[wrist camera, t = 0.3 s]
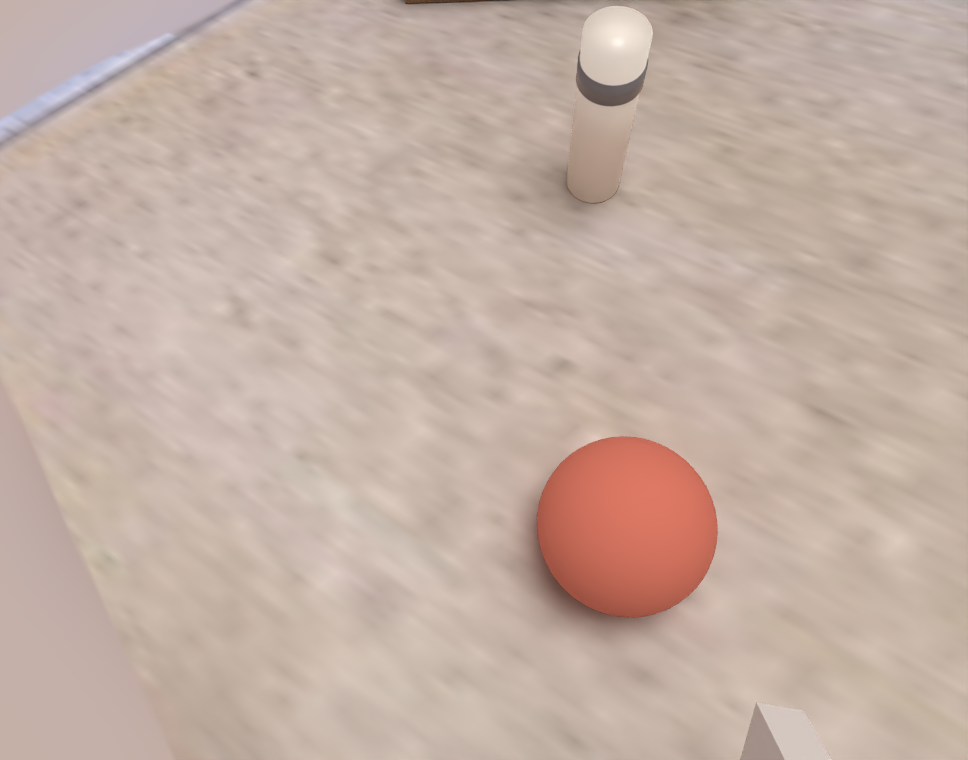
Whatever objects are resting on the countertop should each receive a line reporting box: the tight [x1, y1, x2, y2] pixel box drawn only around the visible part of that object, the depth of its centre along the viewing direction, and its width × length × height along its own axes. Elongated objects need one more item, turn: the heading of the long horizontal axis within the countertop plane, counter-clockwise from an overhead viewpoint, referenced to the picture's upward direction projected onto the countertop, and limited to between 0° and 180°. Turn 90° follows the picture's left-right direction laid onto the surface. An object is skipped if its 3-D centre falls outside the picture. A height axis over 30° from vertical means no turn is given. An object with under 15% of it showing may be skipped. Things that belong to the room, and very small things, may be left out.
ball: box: [537, 437, 718, 617], centre depth 24 cm, size 6×6×6 cm
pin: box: [567, 6, 653, 203], centre depth 29 cm, size 2×2×8 cm
